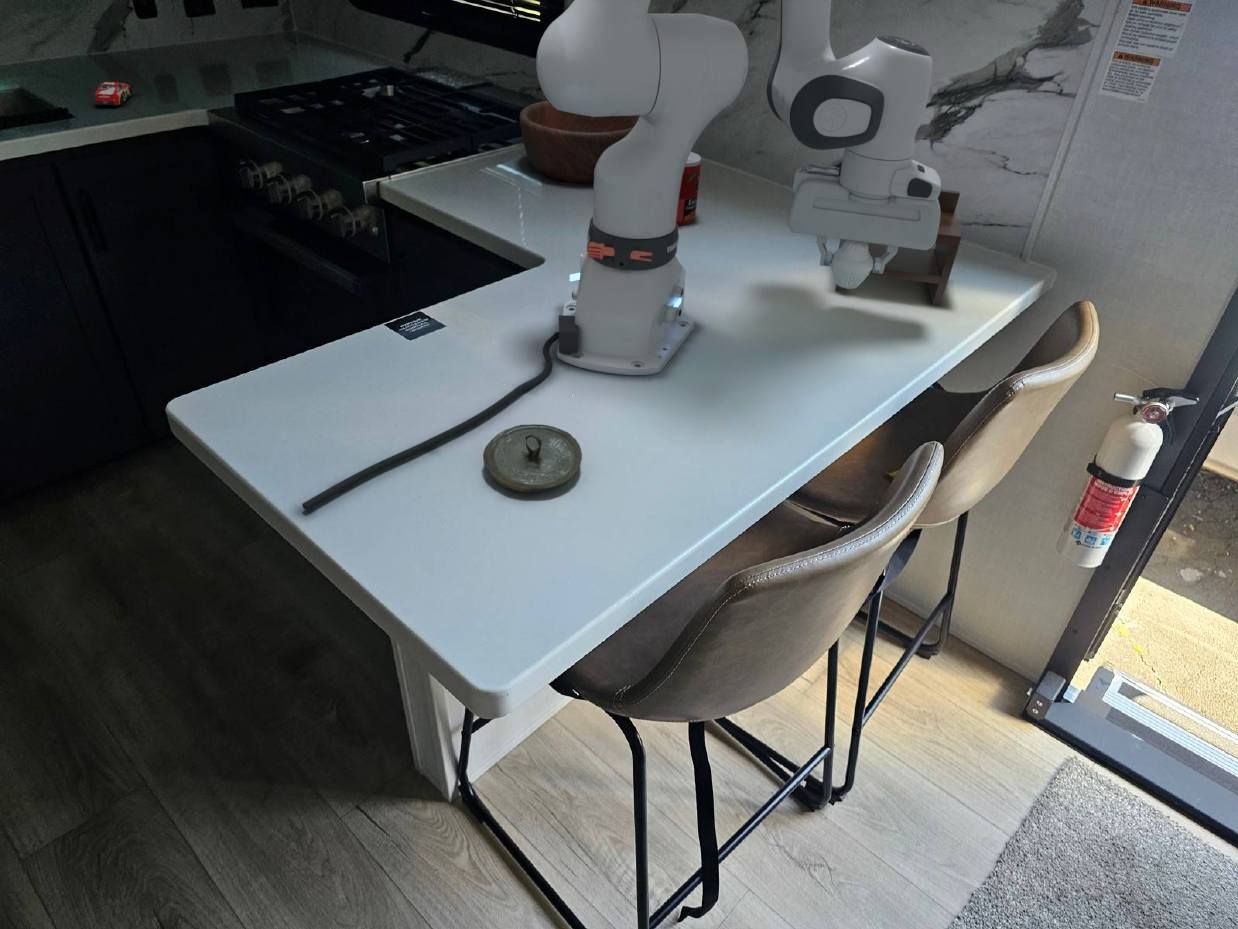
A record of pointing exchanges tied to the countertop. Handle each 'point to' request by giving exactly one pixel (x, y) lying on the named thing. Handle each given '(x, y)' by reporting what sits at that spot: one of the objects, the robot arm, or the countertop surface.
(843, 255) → the muffin
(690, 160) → the canned food
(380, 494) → the countertop surface
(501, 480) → the lid
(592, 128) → the wooden bowl
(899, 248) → the shelf
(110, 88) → the race car
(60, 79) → the countertop surface
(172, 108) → the countertop surface
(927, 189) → the robot arm
